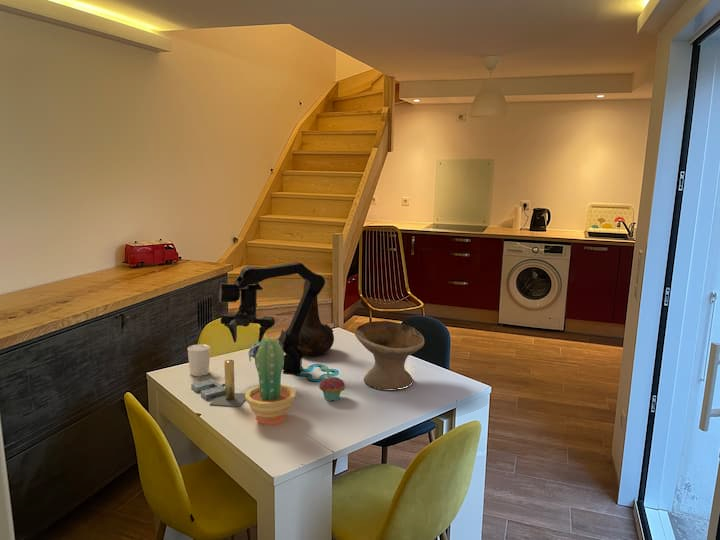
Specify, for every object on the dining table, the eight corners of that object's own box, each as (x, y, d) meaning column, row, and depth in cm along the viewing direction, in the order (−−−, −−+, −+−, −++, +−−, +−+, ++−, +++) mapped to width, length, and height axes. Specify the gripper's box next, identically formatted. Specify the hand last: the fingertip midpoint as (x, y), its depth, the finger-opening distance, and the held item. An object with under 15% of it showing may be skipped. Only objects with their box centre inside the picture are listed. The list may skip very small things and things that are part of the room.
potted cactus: (275, 403, 172) (275, 329, 168) (306, 418, 161) (306, 340, 157) (235, 417, 161) (233, 339, 157) (265, 434, 150) (264, 351, 146)
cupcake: (325, 405, 171) (325, 370, 169) (315, 395, 179) (315, 361, 177) (348, 400, 175) (349, 366, 173) (338, 391, 183) (338, 358, 181)
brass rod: (234, 396, 176) (233, 359, 173) (234, 400, 173) (233, 362, 170) (225, 397, 175) (224, 360, 173) (225, 400, 172) (224, 363, 170)
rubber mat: (249, 395, 178) (249, 393, 178) (239, 407, 168) (239, 406, 168) (221, 393, 179) (221, 392, 179) (209, 405, 169) (209, 404, 169)
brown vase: (336, 358, 217) (337, 292, 213) (293, 360, 213) (293, 293, 209) (330, 345, 234) (330, 283, 230) (289, 347, 231) (289, 284, 226)
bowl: (369, 399, 177) (370, 342, 173) (343, 374, 200) (344, 323, 196) (436, 390, 186) (438, 335, 183) (404, 366, 209) (406, 318, 206)
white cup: (204, 377, 193) (203, 351, 191) (184, 375, 195) (183, 349, 193) (214, 370, 201) (213, 345, 199) (195, 368, 202) (194, 343, 201)
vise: (218, 382, 189) (218, 377, 189) (234, 393, 180) (234, 388, 179) (191, 388, 183) (191, 383, 182) (206, 400, 173) (206, 395, 173)
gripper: (215, 304, 183) (214, 347, 186) (267, 308, 182) (265, 351, 184) (226, 297, 194) (225, 338, 197) (275, 302, 193) (274, 343, 195)
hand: (247, 343), depth 193 cm, fingers open, 9 cm apart
